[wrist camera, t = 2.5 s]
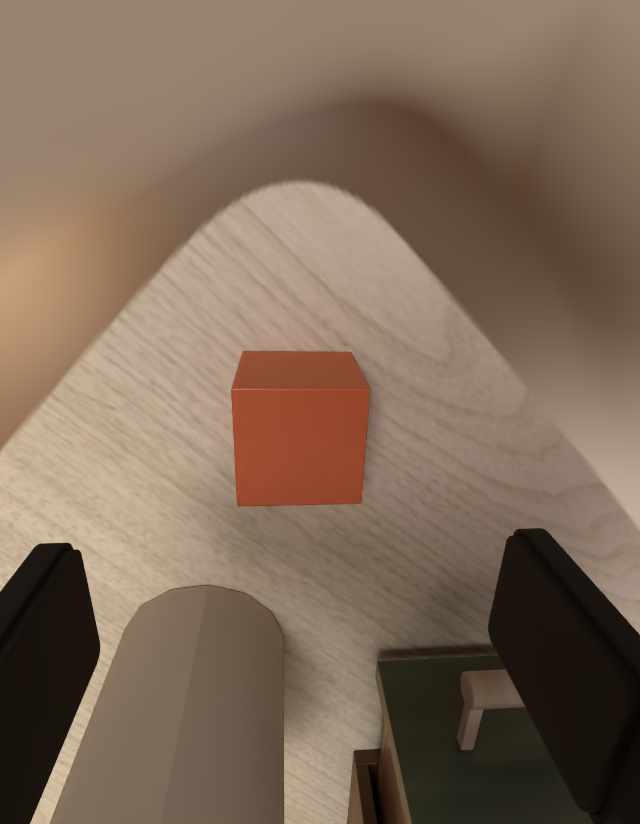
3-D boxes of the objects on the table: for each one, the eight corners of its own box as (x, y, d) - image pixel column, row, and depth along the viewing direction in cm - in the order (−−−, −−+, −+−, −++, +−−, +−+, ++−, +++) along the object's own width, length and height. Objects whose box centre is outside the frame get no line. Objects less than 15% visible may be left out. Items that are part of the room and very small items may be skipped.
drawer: (383, 600, 23) (430, 776, 15) (598, 592, 24) (735, 754, 16) (360, 806, 30) (386, 993, 22) (527, 793, 31) (602, 969, 23)
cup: (233, 715, 26) (207, 978, 17) (98, 669, 24) (-15, 943, 15) (312, 622, 24) (330, 869, 15) (170, 561, 22) (89, 808, 13)
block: (242, 350, 18) (231, 388, 14) (351, 351, 18) (370, 388, 14) (246, 448, 20) (236, 507, 16) (345, 447, 20) (361, 504, 16)
